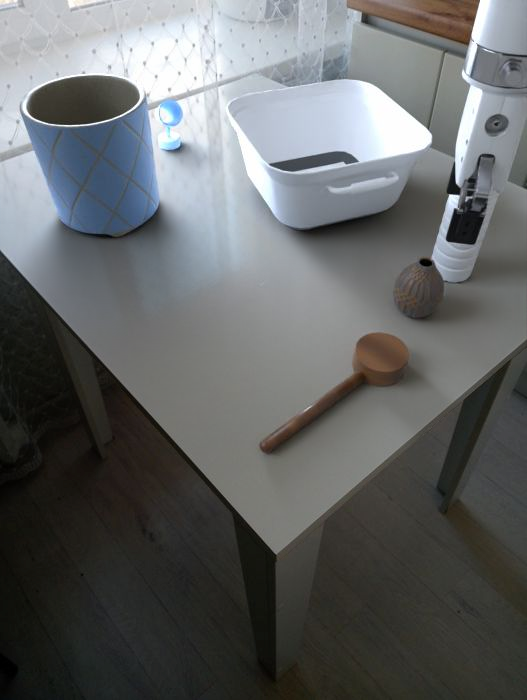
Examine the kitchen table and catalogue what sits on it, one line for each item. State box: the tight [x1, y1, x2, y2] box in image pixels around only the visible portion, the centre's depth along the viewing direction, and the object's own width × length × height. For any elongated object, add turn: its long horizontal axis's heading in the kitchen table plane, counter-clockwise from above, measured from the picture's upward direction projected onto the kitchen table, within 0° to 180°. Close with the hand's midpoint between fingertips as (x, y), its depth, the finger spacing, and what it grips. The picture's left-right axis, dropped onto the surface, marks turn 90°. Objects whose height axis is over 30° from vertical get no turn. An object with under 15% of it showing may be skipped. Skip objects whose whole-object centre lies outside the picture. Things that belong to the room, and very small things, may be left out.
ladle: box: [259, 331, 410, 454], centre depth 70 cm, size 24×7×3 cm, turn 131°
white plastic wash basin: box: [225, 78, 433, 231], centre depth 96 cm, size 34×29×15 cm
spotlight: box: [154, 98, 184, 151], centre depth 112 cm, size 5×10×7 cm
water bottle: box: [430, 184, 500, 283], centre depth 79 cm, size 9×6×25 cm
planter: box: [19, 73, 160, 238], centre depth 92 cm, size 19×19×20 cm
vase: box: [393, 256, 445, 319], centre depth 79 cm, size 7×7×9 cm
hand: (459, 217), depth 64 cm, fingers open, 9 cm apart
